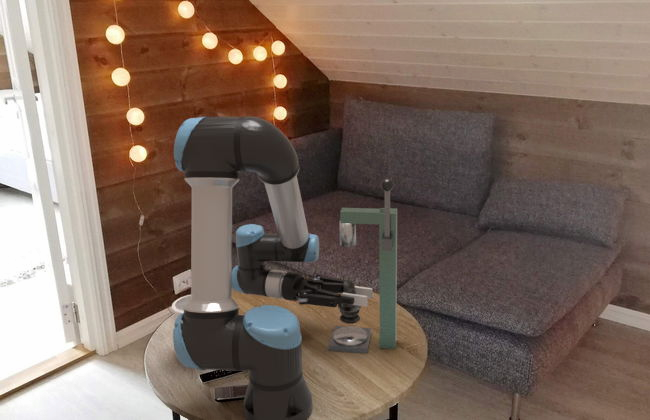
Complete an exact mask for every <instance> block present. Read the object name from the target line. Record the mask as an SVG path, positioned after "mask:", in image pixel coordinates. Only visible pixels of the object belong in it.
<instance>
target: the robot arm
mask: <svg viewBox="0 0 650 420" xmlns="http://www.w3.org/2000/svg"><path fill="white" fill-rule="evenodd" d="M298 158H299V157H298V154H297V152H296V150H295V148H294V146H293V144H292V142H291V140H289V138H288V137H287V135H285V134H284V132H283V131H281V130H280V128H278V127H277V126H275V125H274V124H273V123H271V122H270V121H268V120H265V119H263V118H261V117H257V116H252V115H251V116H249V115H248V116H202V117H201V116H199V117H190V118H188V119H186V120H184V121H183V123H181V125H180V127H178V130H177V133H176V136H175V139H174V145H173V159H174V161H175V162H174V163H175V167H176V168H177V170H178V171H180V172H182V173H184V181H185V182H186V183H187V184H188V185H189V186H190V187H191V234H190V235H191V240H190V241H191V248H190V249H191V251H190V252H191V253H190V256H191V258H190V262H191V263H190V264H191V265H190V267H191V271H190V272H191V274H190V275H191V277H190V278H191V279H190V295H191V300H190V301H189V302H188V303H187V304H186V305H185V306H184V313H182V314H180V315H179V316H178V317H177V319H176V321H175V324H174V323H173V326H174V325H175V328H173V331H172V332H173V333H172V340H173V341H172V342H173V348H174V354H175V356H176V358H177V360H178V361H179V362H180V364H181V365H182V366H183V367H185V368H187V369H197V370H199V371H206V370H211V371H234V372H235V371H238V372H239V371H240V372H248V379H249V380H248V381H249V382H248V384H247V387H246V392H245V396H244V399H243V414H244V418H245V419H246V420H307V419H308V418H309V416H310V415H311V414H312V411H313V397H312V392H311V390H310V389H309V388H310V387H309V386H308V384H307V381H306V379H305V376H304V374H303V372H304V371H303V353H302V350H303V349H302V341H303V340H302V339H303V337H302V332H301V326H300V321H299V319H298V317H297V316H296V314H294V313H293V312H292V311H291V310H289V309H287V308H285V307H282V306H278V305H273V304H263V305H260V306H259V307H258V306H255V307H251V308H250V309H248V310H247V311H246V312H245V313H244V315H242V314H239V308H240V307H239V304H238V303H236V301H235V300H234V299H233V294H232V292H233V291H235V292H237V293H242V294H245V295H252V296H253V295H254V296H261V297H267V298H273V299H277V300H278V299H279V300H283V299H284V300H286V301H290V302H298V304H299V305H300V306H302V305H313V306H320V307H328V308H336V307H341V306H342V303H344V304H351V305H358V306H361V307H365V308H366V307H368V304H369V302H368V301H369V300H368V299H370V300H372V299H373V288H372V287H365V286H357V285H355V292H356V294H350V293H343V292H344V282H345V281H346V280H347V279H344V278H343V279H342V278H338V277H330V276H327V275H326V276H325V275H321V274H319V273H317V274H316V275H315V277H314V278H305V277H304V276H303V274H302V273H300V272H295V271H287V270H278V269H271V268H268V267H267V263H268V262H269V263H272V262H273V263H301V264H304V263H315V262H317V261H318V259H319V255H320V238H319V236H318V235H317V234H312V233H309V230H308V224H307V220H306V215H305V209H304V206H303V200H302V195H301V190H300V186H299V182H298V181H299V180H298V177H297V176H298V174H299V171H300V163H299V159H298ZM241 172H244V173H245V172H254V173H256V175H257V177H258V179H259V180H260V181H261V182H262V183H263V184H264V188H265V190H266V194H267V197H268V202H269V206H270V208H271V212H272V215H273V219H274V223H275V225H276V229H277V233H265V230H264V227H263V226H262V225H260V224H255V223H250V224H244V225H241V226H240V227H238V228H237V230H236V231H235V243H236V244H235V248H236V255H237V256H236V257H237V264H238V265H237V264H236V265H235V266H234V267H233V266H232V265H233V261H232V260H233V259H232V258H233V257H232V256H233V251H232V250H233V188H234V186H235V185H236V184H237V183H239V181H240V173H241ZM232 268H233V269H232ZM232 290H233V291H232Z"/></svg>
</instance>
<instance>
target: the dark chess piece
mask: <svg viewBox="0 0 650 420" xmlns="http://www.w3.org/2000/svg"><path fill="white" fill-rule="evenodd" d="M345 280H346V281H345V282H344V292H343V293H350V294H356V292H355V286H356V285H355V284H356V283H355V281H354V280H352V279H351V278H350V277H347V279H345ZM337 307H338V306H337ZM361 307H362V306H358V305H351V304H344V303H342V306H341V307H338V310H339V312H340V314H341V315H340V316H339V321H341V322H342V323H344V324H347V325H348V324H351V325H352V324H356V323H358V322H359V321H360V319H361V316H360V315H359V312H360V310H361Z"/></svg>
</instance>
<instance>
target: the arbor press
mask: <svg viewBox="0 0 650 420" xmlns="http://www.w3.org/2000/svg"><path fill="white" fill-rule="evenodd" d="M394 187H395V184H394V181H393V179H391V178H384V179H383V180H382V181H381V182H380V188H381V189H382V190H383V192H384V207H381V208H373V207H372V208H371V207H369V208H367V207H362V208H361V207H341V210H340V211H339V213H340V218H339V219H340V220H339V245H340V246H341V247H343V248H344V247H345V248H352V247H354V246H356V245H357V226H356V225H379V229H378V232H379V235H378V236H379V242H378V243H379V247H378V248H379V249H378V250H379V257H378V258H379V265H378V266H379V349H391V350H396V346H397V345H396V344H397V315H398V314H397V303H398V302H397V298H398V297H397V292H398V291H397V287H398V285H397V284H398V281H397V280H398V277H397V276H398V275H397V274H398V208H394V207H391V191H392V190H393V188H394ZM371 336H372V327H359V326H353V325H352V326H351V325H350V326H344V325H334V326H333V330H332V333H331V336H330V339H329V342H328V346H327V347H328V350H327V351H329V352H338V353H339V352H342V353H355V354H368V350H369V346H370V340H371Z"/></svg>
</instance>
